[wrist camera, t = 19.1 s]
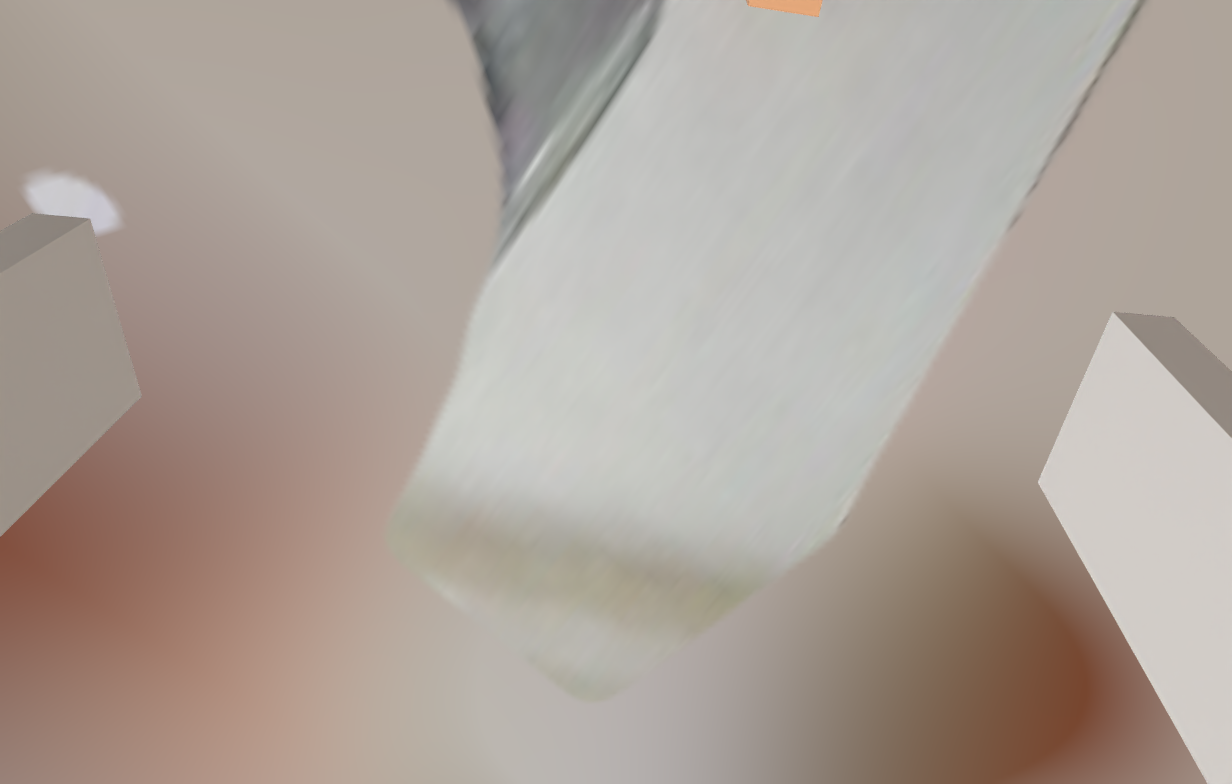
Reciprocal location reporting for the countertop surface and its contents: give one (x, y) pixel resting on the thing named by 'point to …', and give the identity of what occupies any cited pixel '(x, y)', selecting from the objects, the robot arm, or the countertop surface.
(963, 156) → the countertop surface
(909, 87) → the countertop surface
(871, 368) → the countertop surface
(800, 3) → the orange bar
